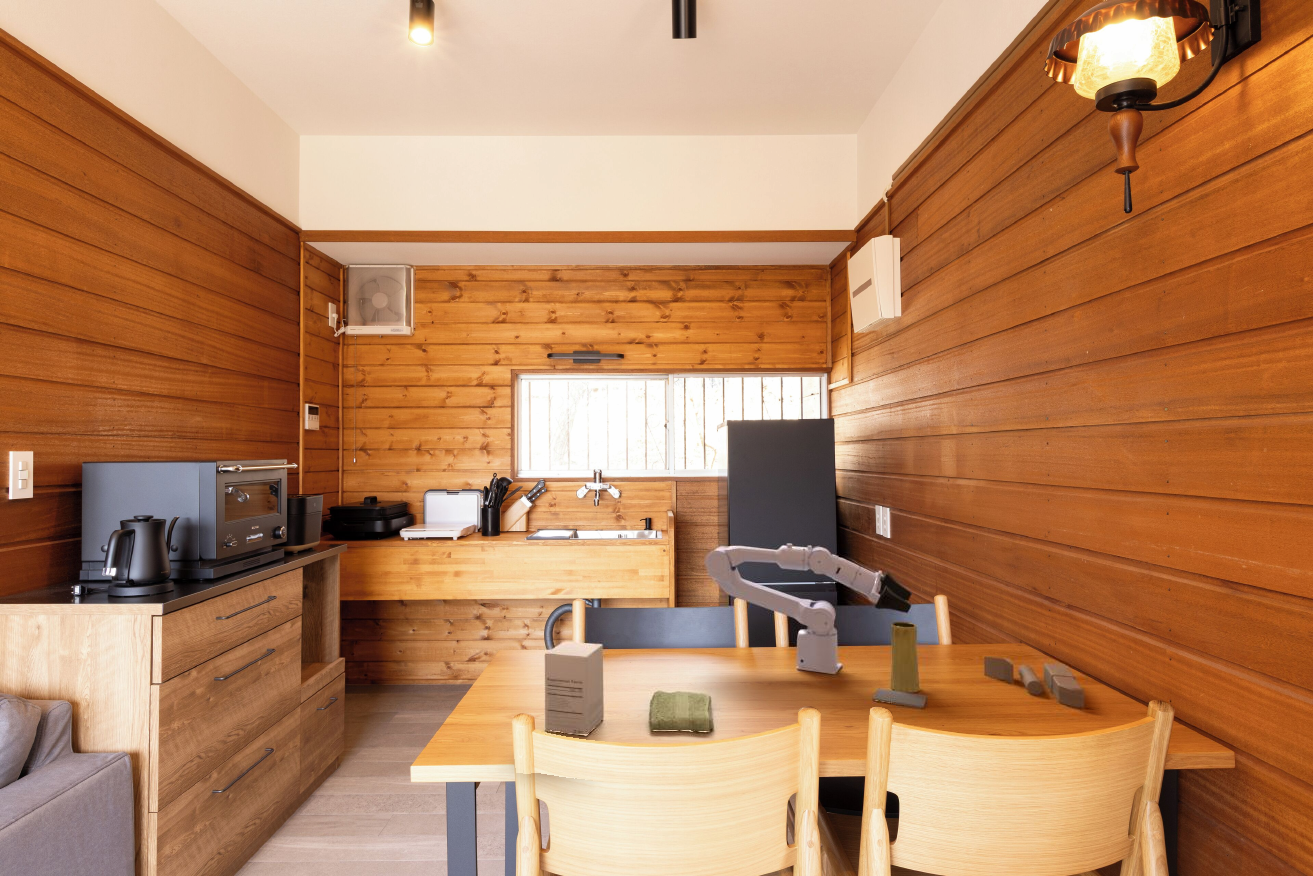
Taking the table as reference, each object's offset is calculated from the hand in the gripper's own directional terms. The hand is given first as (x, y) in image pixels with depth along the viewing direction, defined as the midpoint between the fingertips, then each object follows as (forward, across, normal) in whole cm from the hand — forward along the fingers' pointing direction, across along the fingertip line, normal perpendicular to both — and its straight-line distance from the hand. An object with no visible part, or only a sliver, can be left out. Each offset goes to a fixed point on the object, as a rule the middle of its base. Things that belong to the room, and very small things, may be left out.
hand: (909, 602), depth 157 cm
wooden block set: (+30, -4, +6) cm, 31 cm away
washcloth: (-35, -45, +27) cm, 63 cm away
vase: (+5, -13, +14) cm, 20 cm away
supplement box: (-52, -57, +32) cm, 83 cm away
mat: (+4, -20, +13) cm, 24 cm away
